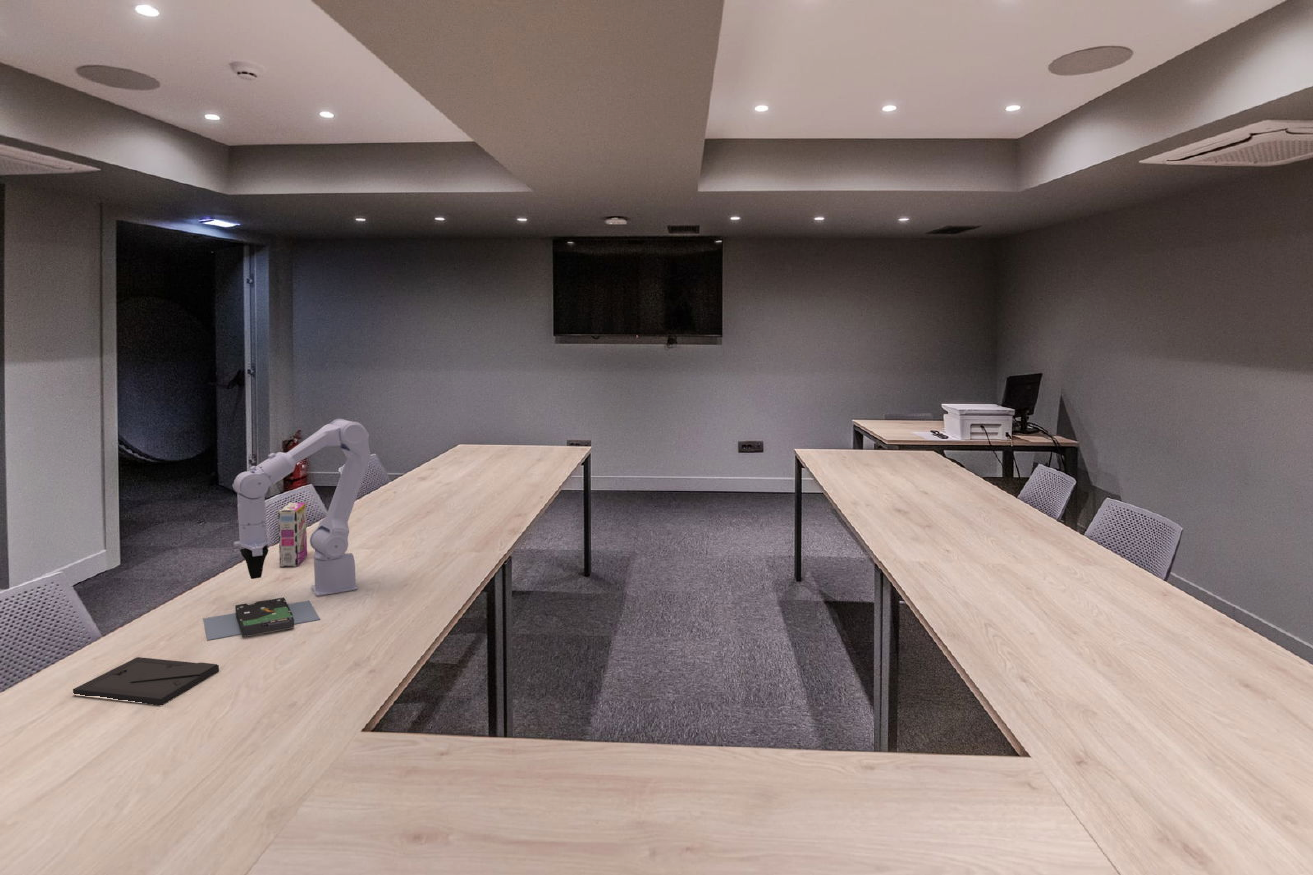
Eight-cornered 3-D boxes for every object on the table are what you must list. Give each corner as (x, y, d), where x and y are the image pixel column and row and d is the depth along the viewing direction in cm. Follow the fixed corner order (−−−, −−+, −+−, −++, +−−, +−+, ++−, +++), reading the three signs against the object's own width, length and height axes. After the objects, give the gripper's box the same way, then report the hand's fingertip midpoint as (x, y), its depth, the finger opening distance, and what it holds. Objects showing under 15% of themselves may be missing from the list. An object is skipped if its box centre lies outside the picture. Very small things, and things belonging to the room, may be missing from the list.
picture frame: (219, 674, 136) (138, 666, 139) (218, 663, 136) (137, 655, 138) (161, 709, 123) (73, 699, 126) (160, 697, 123) (72, 687, 125)
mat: (309, 601, 173) (309, 600, 173) (320, 619, 162) (320, 618, 162) (203, 619, 161) (203, 618, 161) (207, 640, 149) (207, 639, 149)
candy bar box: (298, 567, 199) (296, 510, 197) (279, 568, 198) (276, 511, 195) (308, 555, 210) (306, 501, 207) (290, 556, 208) (287, 502, 206)
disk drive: (234, 616, 162) (242, 638, 151) (233, 605, 162) (241, 625, 150) (284, 608, 168) (295, 628, 157) (284, 596, 168) (295, 615, 156)
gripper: (230, 517, 170) (233, 572, 172) (235, 531, 159) (239, 589, 160) (263, 514, 174) (266, 567, 176) (271, 527, 163) (274, 584, 165)
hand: (255, 577), depth 169 cm, fingers closed
